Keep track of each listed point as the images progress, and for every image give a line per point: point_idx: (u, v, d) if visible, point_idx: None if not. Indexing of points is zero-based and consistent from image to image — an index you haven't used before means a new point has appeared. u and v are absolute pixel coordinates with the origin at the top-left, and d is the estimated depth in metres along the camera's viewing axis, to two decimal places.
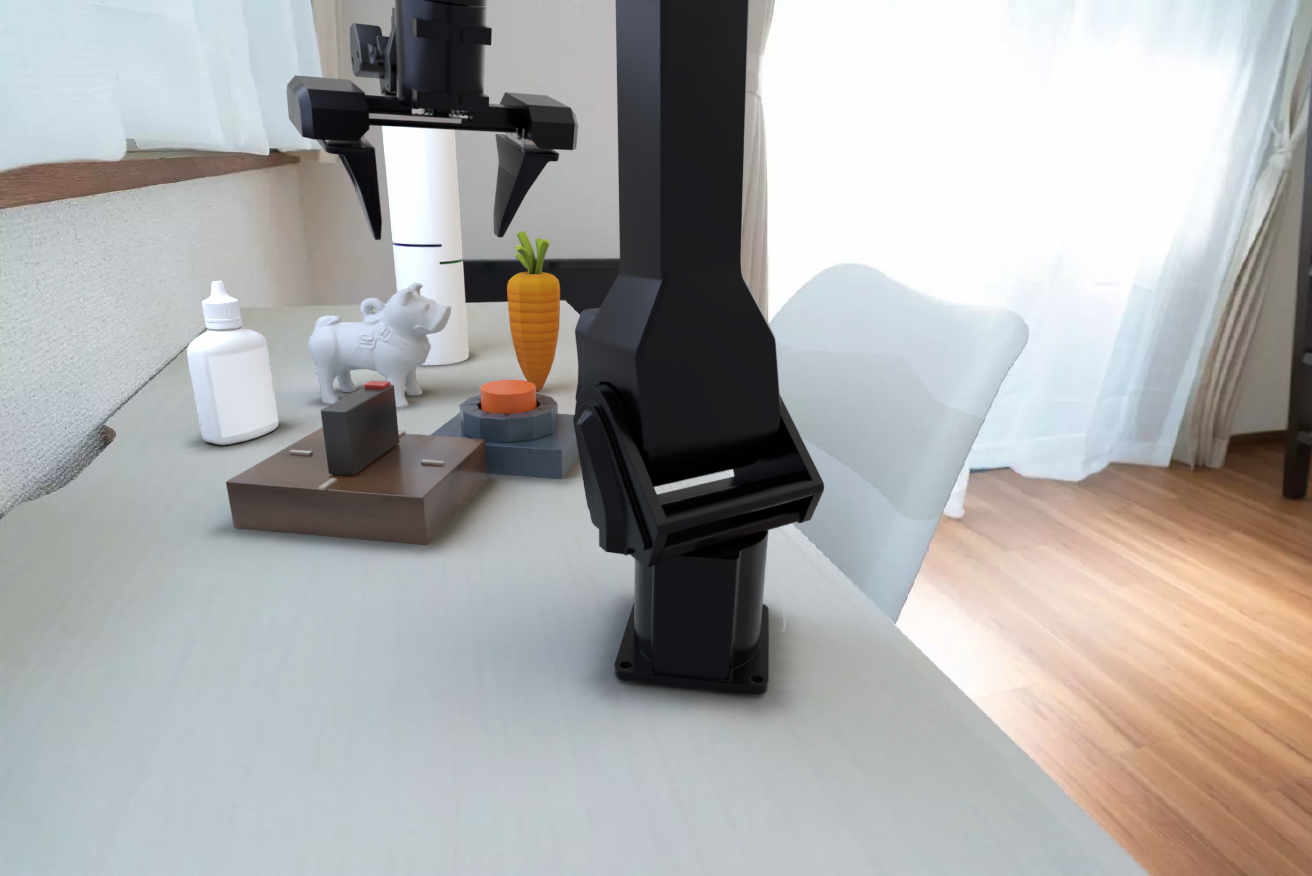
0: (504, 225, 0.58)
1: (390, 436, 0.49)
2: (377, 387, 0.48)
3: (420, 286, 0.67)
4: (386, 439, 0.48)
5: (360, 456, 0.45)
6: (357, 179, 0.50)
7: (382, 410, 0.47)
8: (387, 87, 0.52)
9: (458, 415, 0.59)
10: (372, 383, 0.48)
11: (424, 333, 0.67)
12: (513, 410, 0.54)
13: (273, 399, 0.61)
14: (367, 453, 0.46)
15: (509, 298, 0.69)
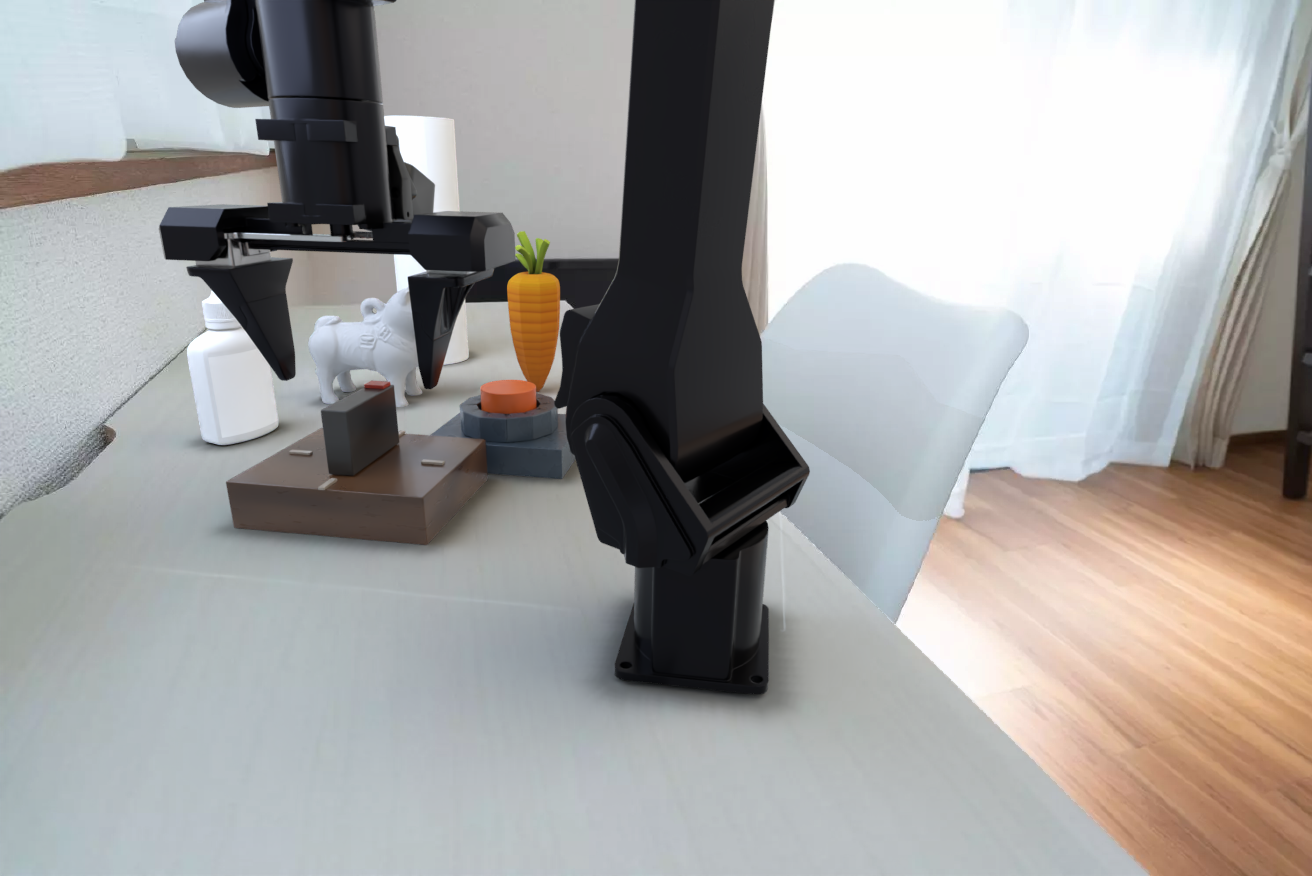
0: (424, 373, 0.44)
1: (390, 436, 0.49)
2: (377, 387, 0.48)
3: None
4: (386, 439, 0.48)
5: (360, 456, 0.45)
6: (227, 306, 0.43)
7: (382, 410, 0.47)
8: None
9: (458, 415, 0.59)
10: (372, 383, 0.48)
11: None
12: (513, 410, 0.54)
13: (273, 399, 0.61)
14: (367, 453, 0.46)
15: (509, 298, 0.69)
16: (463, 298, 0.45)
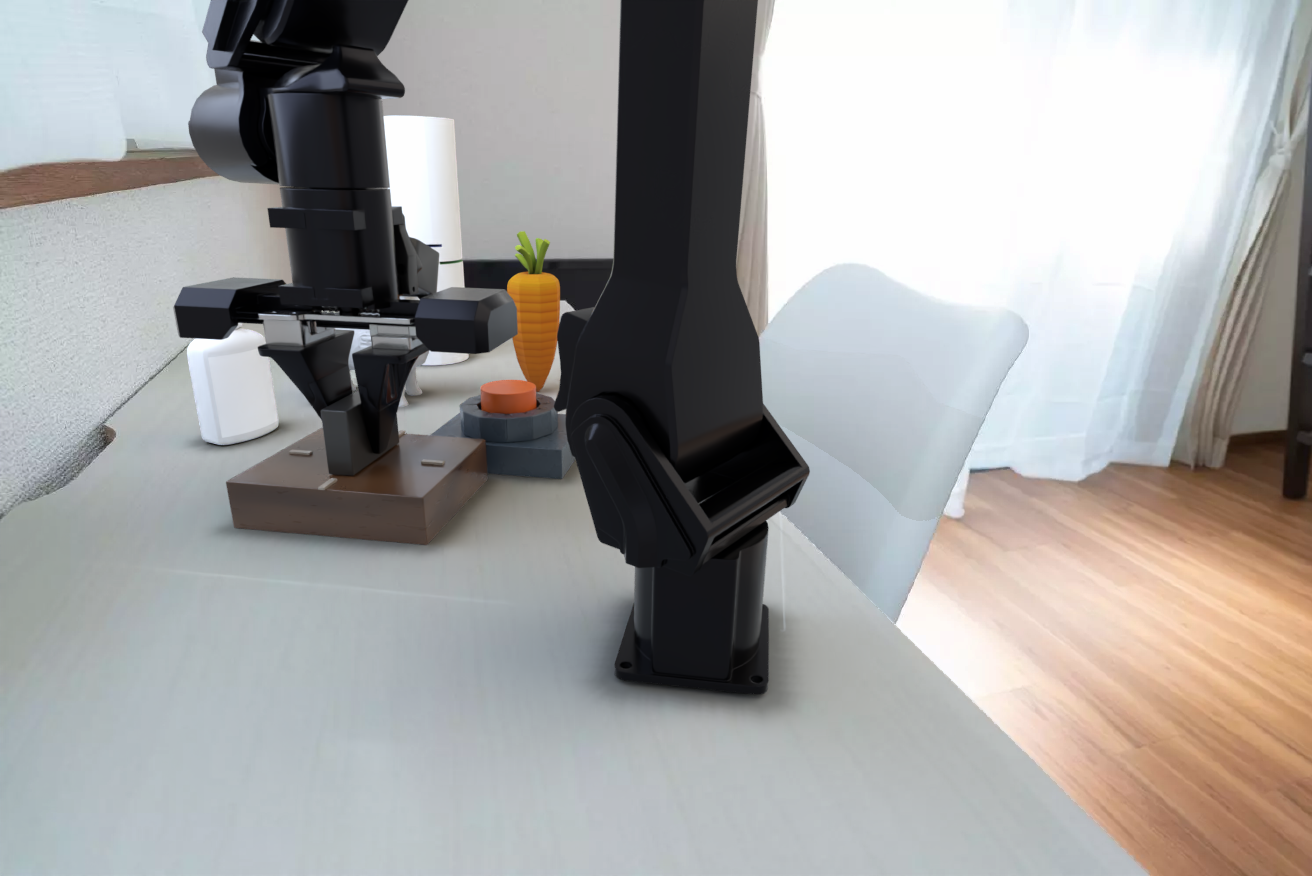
0: (372, 439, 0.46)
1: (390, 436, 0.49)
2: None
3: None
4: None
5: (360, 456, 0.45)
6: (295, 384, 0.44)
7: None
8: None
9: (458, 415, 0.59)
10: None
11: None
12: (513, 410, 0.54)
13: (273, 399, 0.61)
14: (367, 453, 0.46)
15: None
16: (410, 367, 0.46)
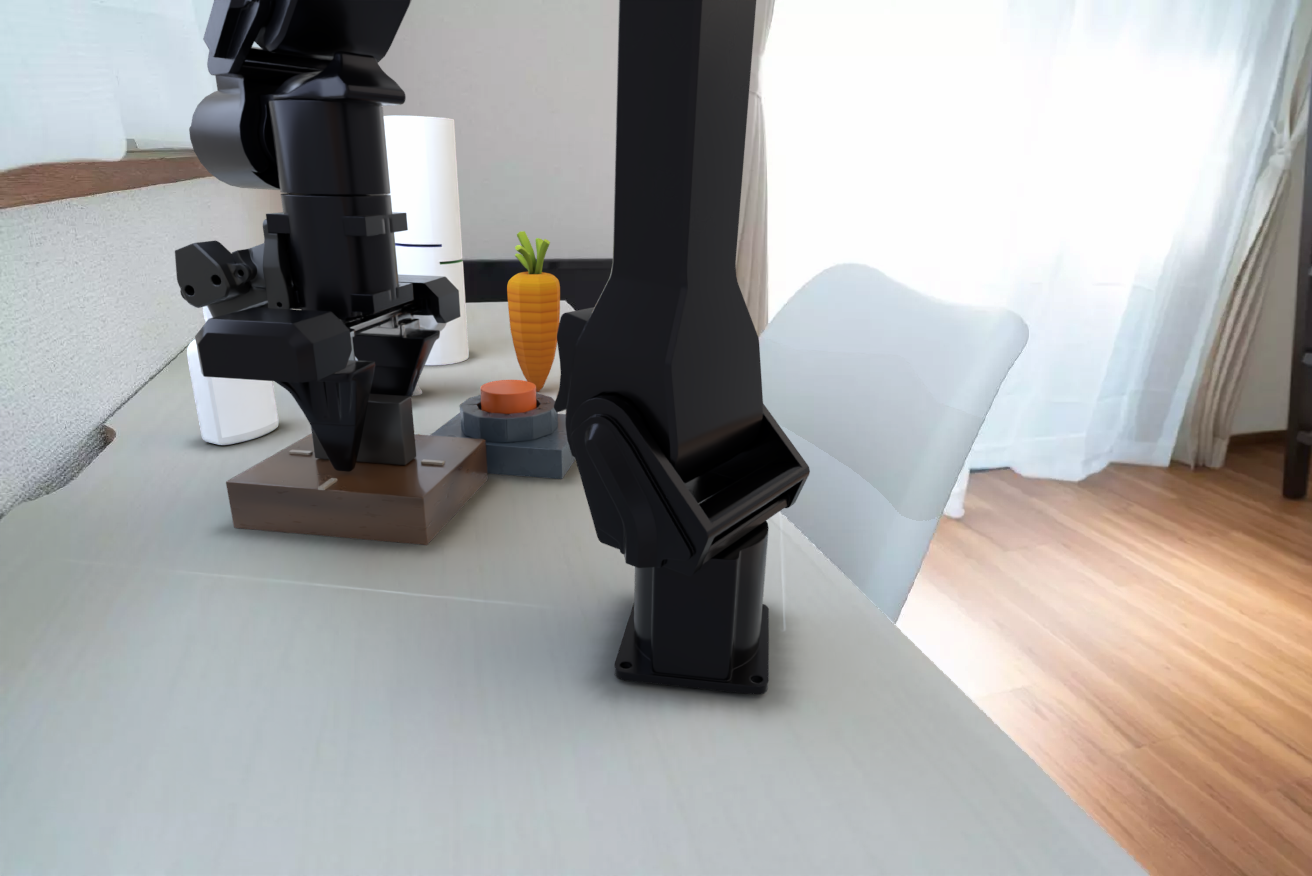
0: None
1: None
2: None
3: None
4: None
5: None
6: (357, 403, 0.42)
7: None
8: (276, 306, 0.42)
9: (458, 415, 0.59)
10: None
11: None
12: (513, 410, 0.54)
13: (273, 399, 0.61)
14: None
15: (509, 298, 0.69)
16: None
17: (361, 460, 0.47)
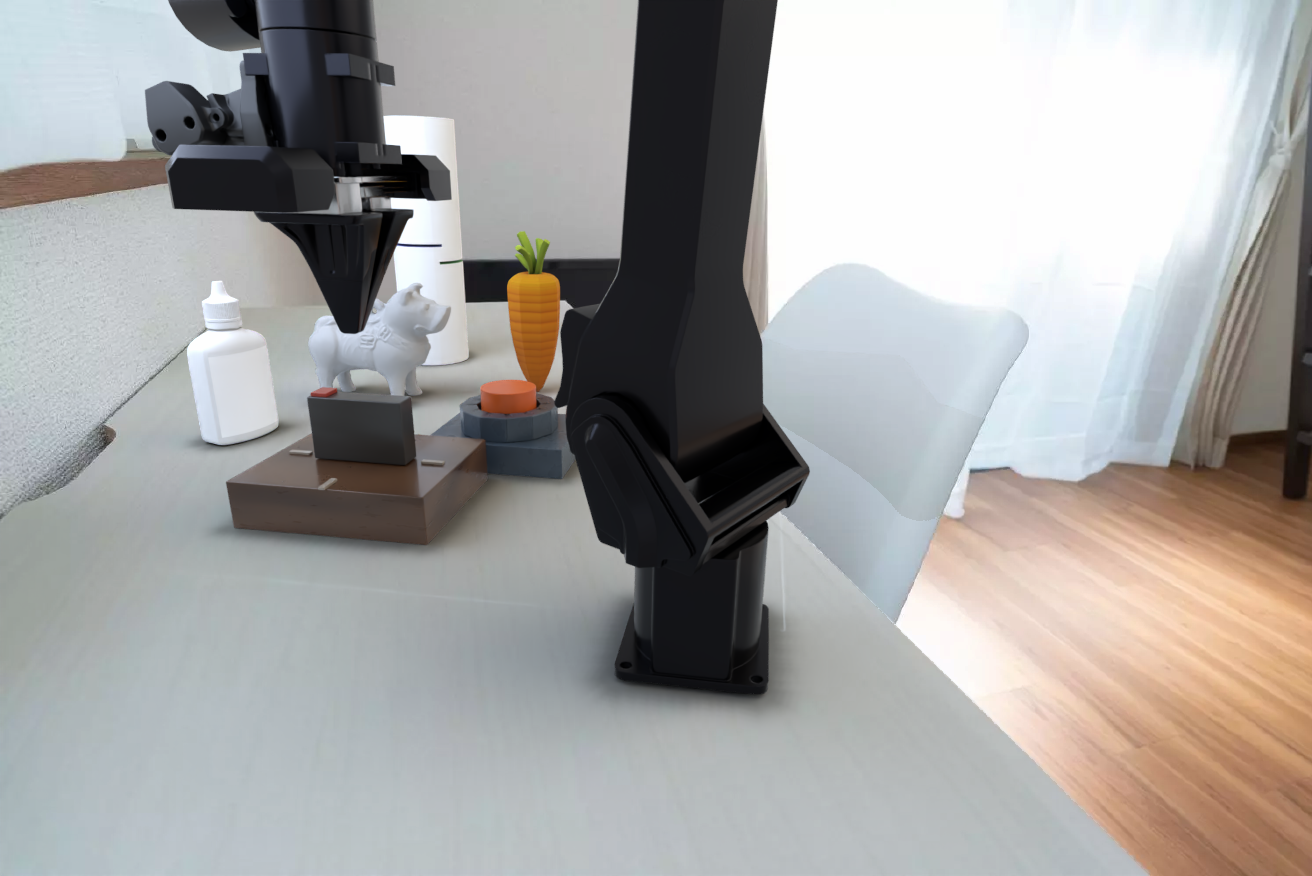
0: (367, 313, 0.45)
1: None
2: (335, 391, 0.47)
3: (420, 286, 0.67)
4: None
5: None
6: (364, 255, 0.41)
7: None
8: None
9: (458, 415, 0.59)
10: (322, 391, 0.46)
11: (424, 333, 0.67)
12: (513, 410, 0.54)
13: (273, 399, 0.61)
14: None
15: (509, 298, 0.69)
16: None
17: (361, 460, 0.47)
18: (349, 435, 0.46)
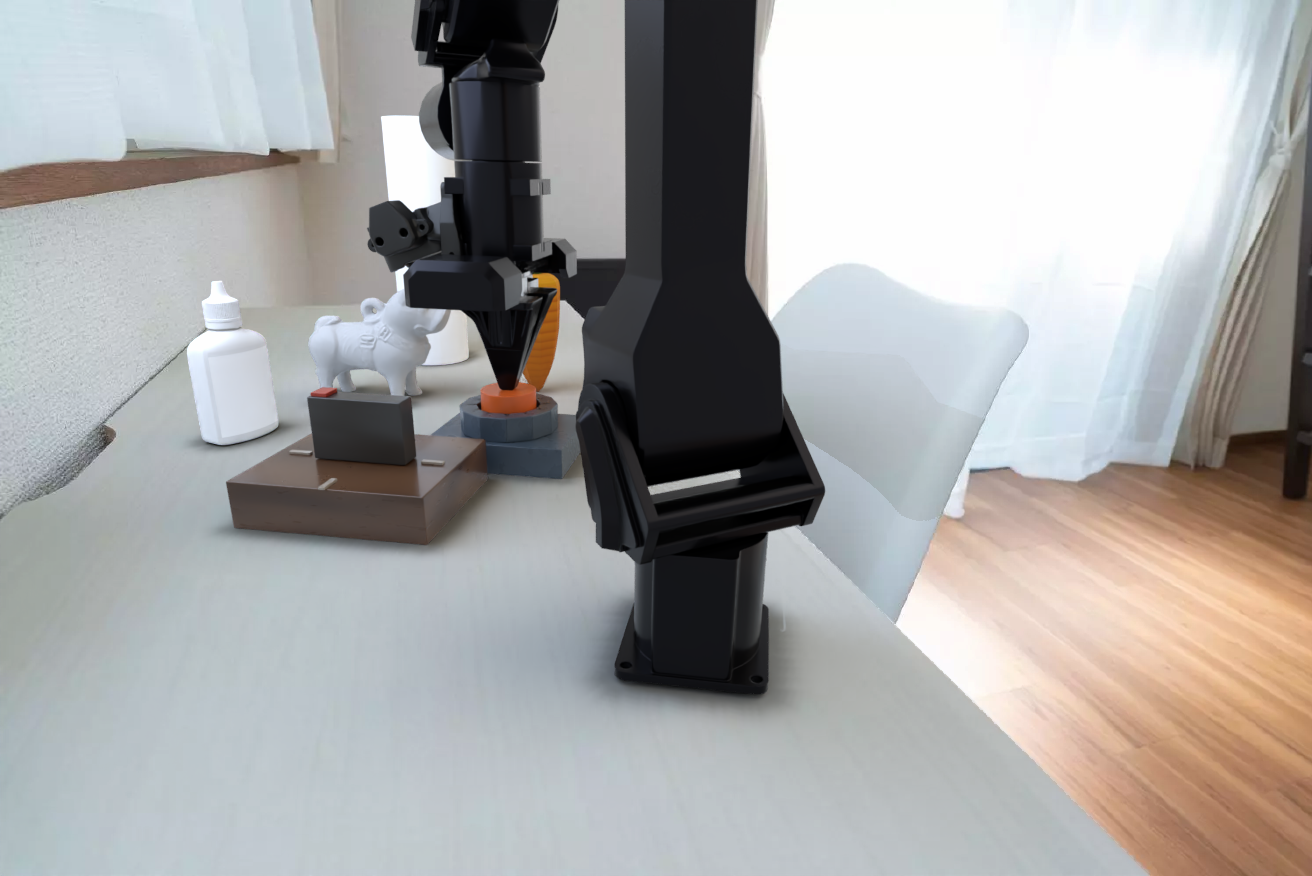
0: (521, 373, 0.55)
1: None
2: (335, 391, 0.47)
3: None
4: None
5: None
6: (528, 330, 0.52)
7: None
8: (449, 255, 0.50)
9: (458, 415, 0.59)
10: (322, 391, 0.46)
11: (424, 333, 0.67)
12: (513, 412, 0.54)
13: (273, 399, 0.61)
14: None
15: None
16: None
17: (361, 460, 0.47)
18: (349, 435, 0.46)
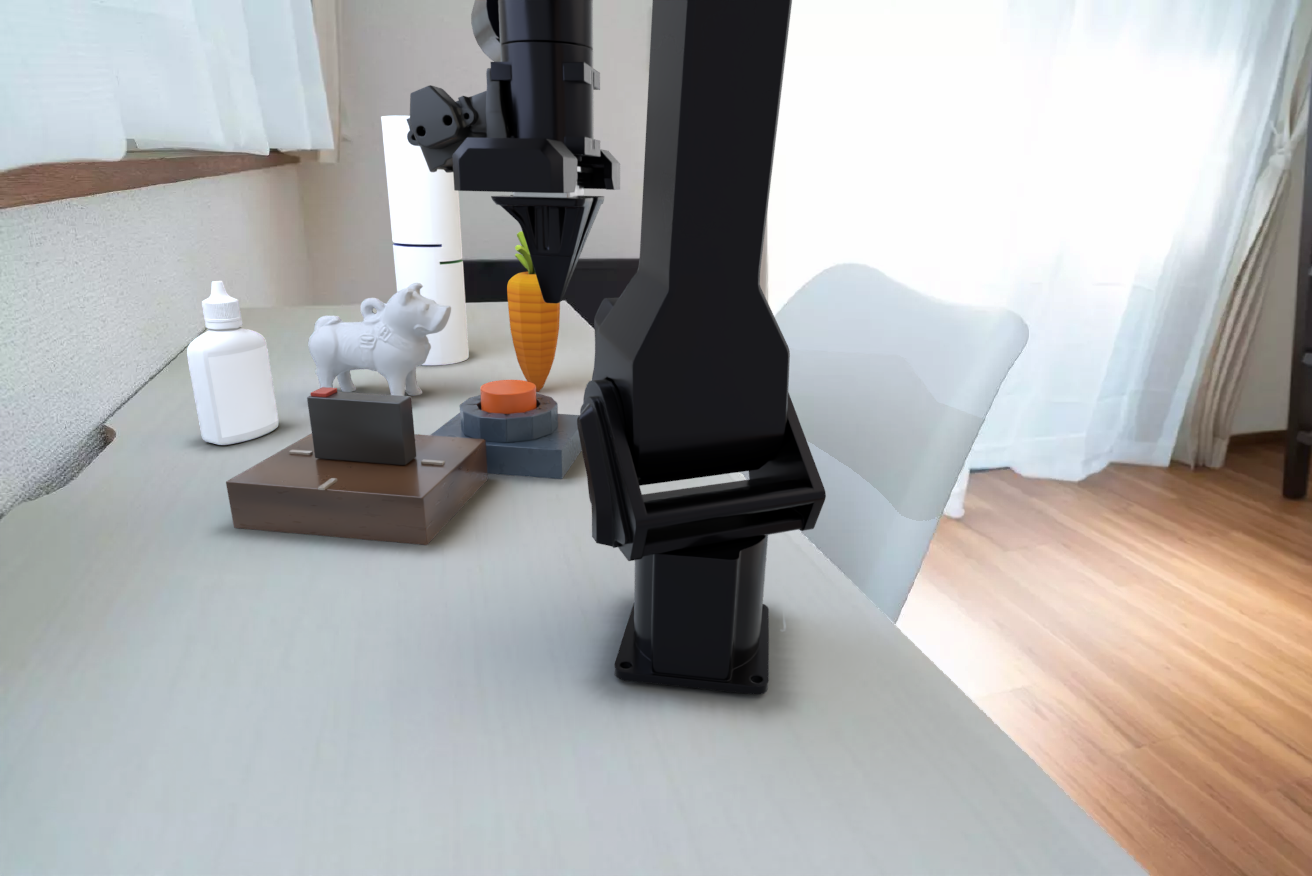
0: (567, 285, 0.52)
1: None
2: (335, 391, 0.47)
3: (420, 286, 0.67)
4: None
5: None
6: (578, 233, 0.48)
7: None
8: None
9: (458, 415, 0.59)
10: (322, 391, 0.46)
11: (424, 333, 0.67)
12: (513, 410, 0.54)
13: (273, 399, 0.61)
14: None
15: (509, 298, 0.69)
16: None
17: (361, 460, 0.47)
18: (349, 435, 0.46)
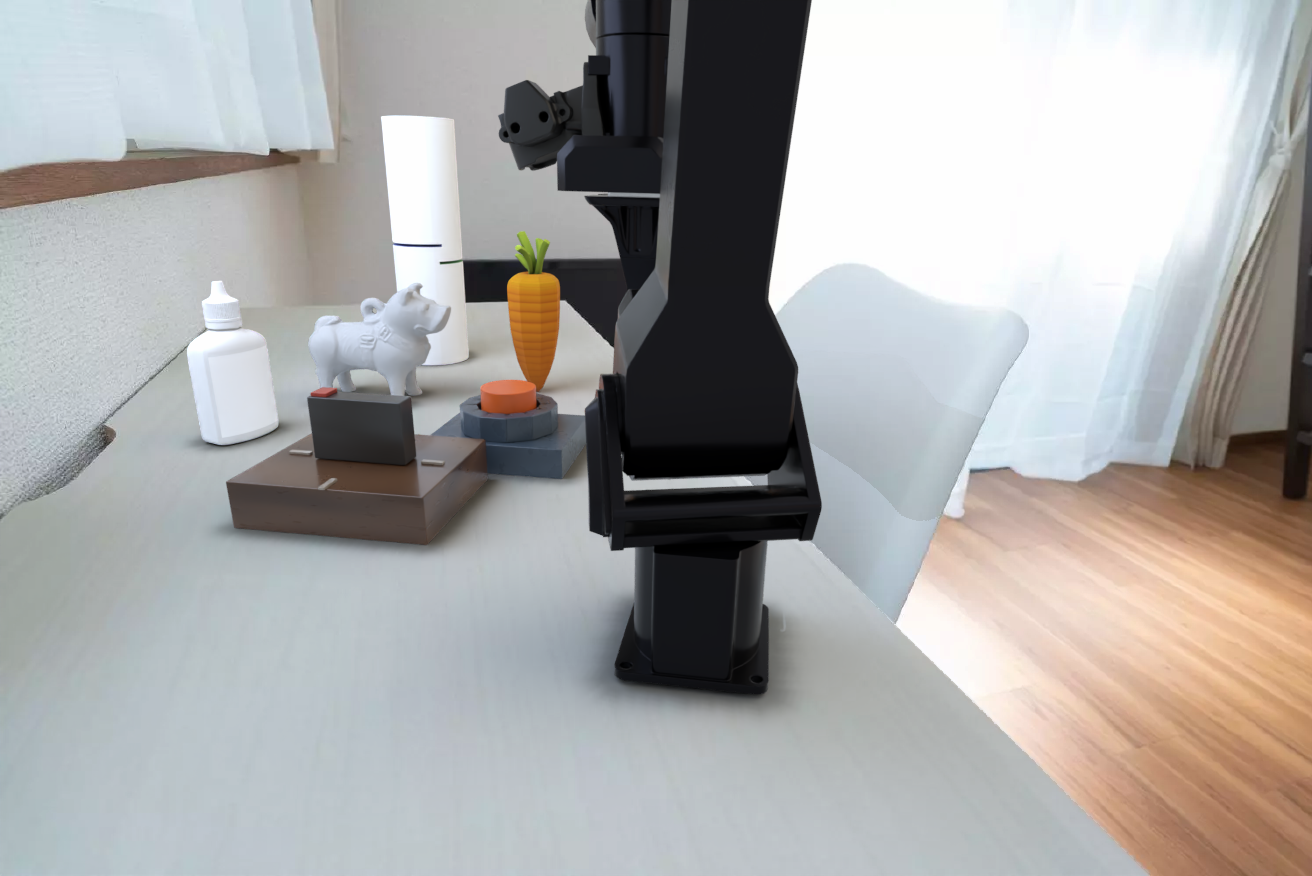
0: None
1: None
2: (335, 391, 0.47)
3: (420, 286, 0.67)
4: None
5: None
6: None
7: None
8: None
9: (458, 415, 0.59)
10: (322, 391, 0.46)
11: (424, 333, 0.67)
12: (513, 410, 0.54)
13: (273, 399, 0.61)
14: None
15: (509, 298, 0.69)
16: None
17: (361, 460, 0.47)
18: (349, 435, 0.46)
